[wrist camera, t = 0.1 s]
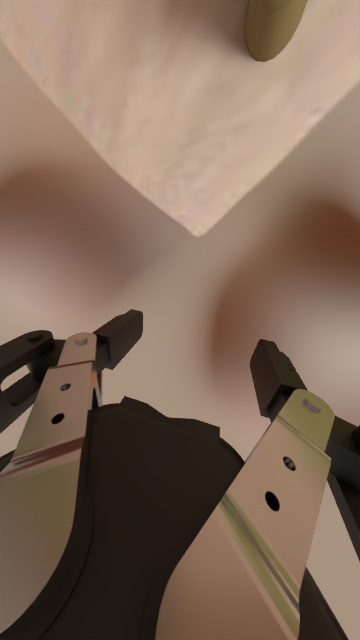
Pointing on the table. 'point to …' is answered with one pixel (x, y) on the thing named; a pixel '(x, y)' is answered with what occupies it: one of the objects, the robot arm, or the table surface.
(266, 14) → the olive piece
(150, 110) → the table surface
